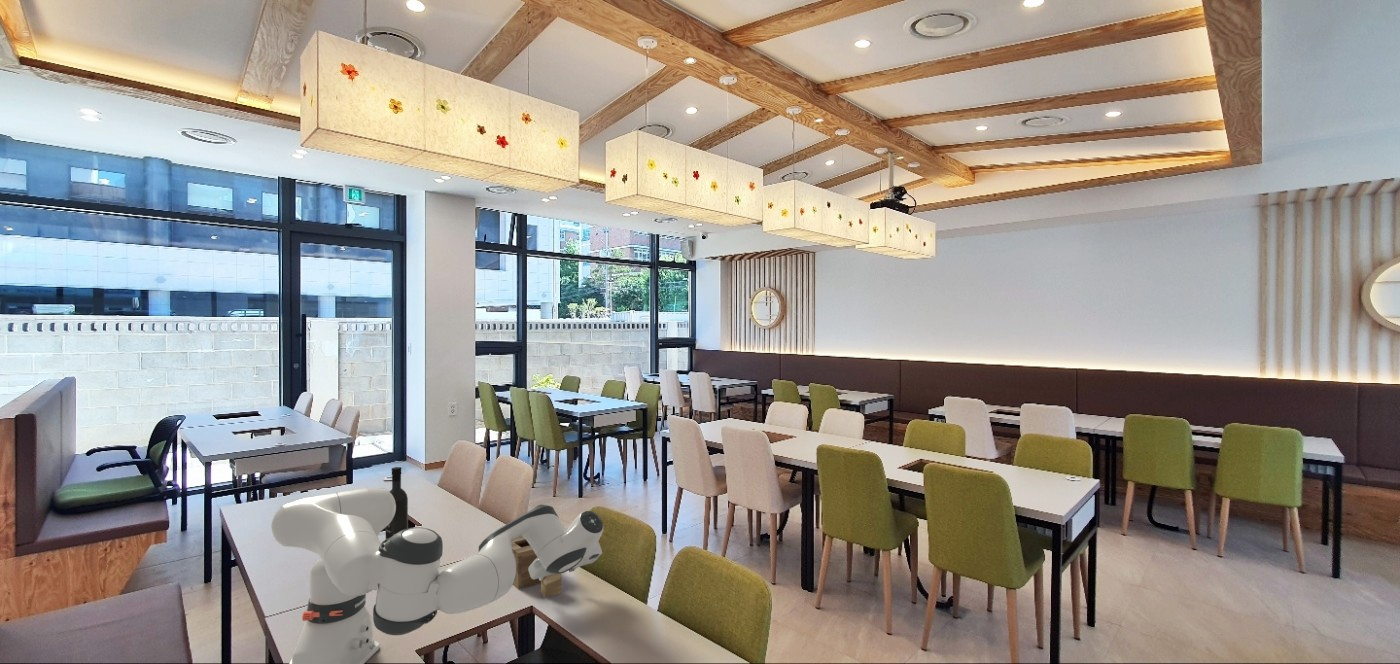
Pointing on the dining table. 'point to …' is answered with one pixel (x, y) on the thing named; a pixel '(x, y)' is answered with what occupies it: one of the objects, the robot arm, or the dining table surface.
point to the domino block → (551, 585)
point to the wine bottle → (398, 505)
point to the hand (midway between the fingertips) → (556, 573)
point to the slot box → (523, 563)
